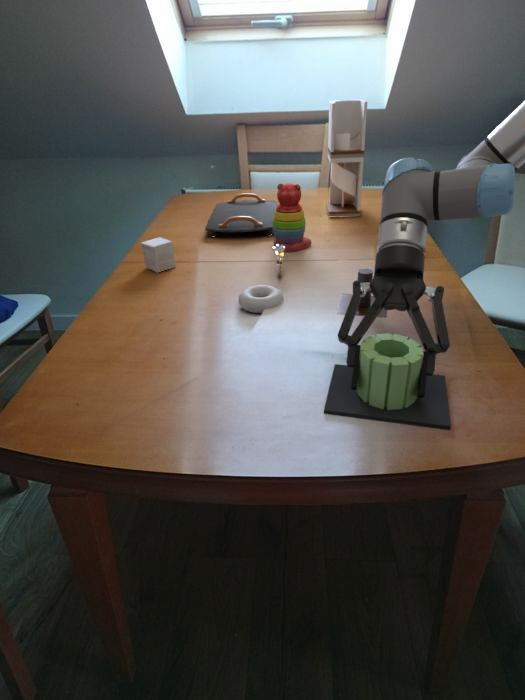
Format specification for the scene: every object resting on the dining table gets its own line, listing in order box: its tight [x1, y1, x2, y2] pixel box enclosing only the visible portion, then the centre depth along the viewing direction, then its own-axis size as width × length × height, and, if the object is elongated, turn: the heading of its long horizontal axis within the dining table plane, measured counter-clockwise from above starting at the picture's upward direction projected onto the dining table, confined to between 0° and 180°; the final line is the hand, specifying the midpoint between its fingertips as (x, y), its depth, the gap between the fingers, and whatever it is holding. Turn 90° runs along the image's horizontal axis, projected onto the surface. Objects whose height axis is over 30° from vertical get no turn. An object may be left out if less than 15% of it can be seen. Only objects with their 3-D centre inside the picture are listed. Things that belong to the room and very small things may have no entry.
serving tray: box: [205, 192, 279, 237], centre depth 159 cm, size 39×23×6 cm, turn 178°
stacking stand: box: [336, 268, 388, 319], centre depth 96 cm, size 10×10×9 cm
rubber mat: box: [323, 363, 452, 430], centre depth 73 cm, size 18×13×1 cm
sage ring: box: [357, 332, 424, 410], centre depth 71 cm, size 9×9×8 cm
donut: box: [238, 284, 284, 314], centre depth 102 cm, size 10×4×10 cm
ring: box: [272, 243, 285, 276], centre depth 116 cm, size 7×3×8 cm, turn 175°
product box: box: [140, 236, 177, 274], centre depth 124 cm, size 6×6×7 cm
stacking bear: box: [272, 183, 312, 253], centre depth 132 cm, size 11×10×18 cm
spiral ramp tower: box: [325, 99, 368, 217], centre depth 156 cm, size 11×11×35 cm
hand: (386, 392), depth 69 cm, fingers closed on sage ring, 9 cm apart
